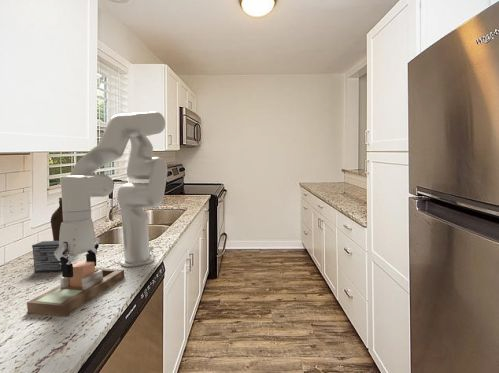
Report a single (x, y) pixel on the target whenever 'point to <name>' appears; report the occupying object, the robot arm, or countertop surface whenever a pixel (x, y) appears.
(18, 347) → the countertop surface
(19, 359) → the countertop surface
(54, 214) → the olive oil
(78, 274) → the block
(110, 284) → the track
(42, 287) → the countertop surface
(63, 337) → the countertop surface
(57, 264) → the small box
